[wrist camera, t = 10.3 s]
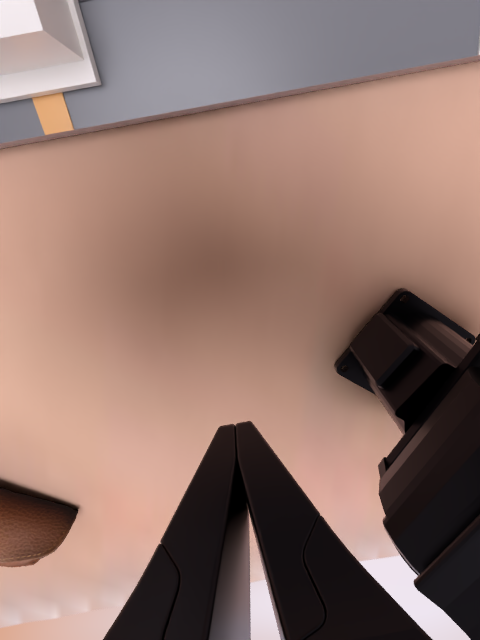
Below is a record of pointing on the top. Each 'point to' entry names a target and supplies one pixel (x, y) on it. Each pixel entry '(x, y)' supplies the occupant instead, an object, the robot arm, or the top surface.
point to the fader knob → (43, 49)
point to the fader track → (239, 56)
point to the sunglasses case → (31, 528)
